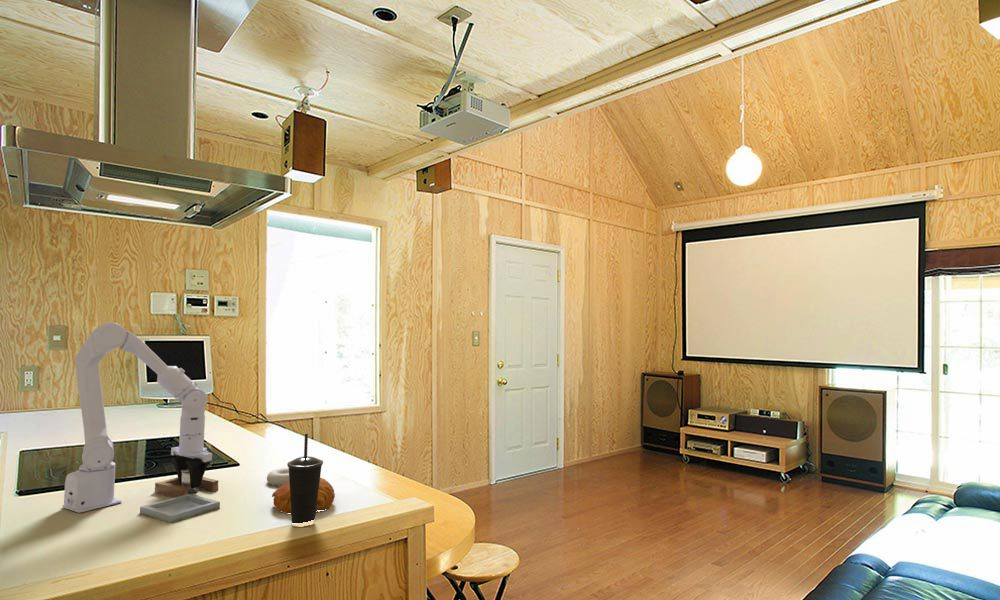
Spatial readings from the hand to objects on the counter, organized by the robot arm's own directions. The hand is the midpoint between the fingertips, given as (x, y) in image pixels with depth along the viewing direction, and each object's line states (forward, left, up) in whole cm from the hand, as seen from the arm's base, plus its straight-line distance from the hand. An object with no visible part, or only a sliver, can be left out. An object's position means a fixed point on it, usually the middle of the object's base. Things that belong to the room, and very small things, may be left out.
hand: (189, 485), depth 150 cm
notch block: (0, +1, -2) cm, 2 cm away
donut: (+20, -13, -2) cm, 24 cm away
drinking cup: (-1, -43, -2) cm, 43 cm away
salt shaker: (0, 0, -2) cm, 2 cm away
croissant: (+8, -33, -2) cm, 34 cm away
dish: (-10, -12, -2) cm, 16 cm away
